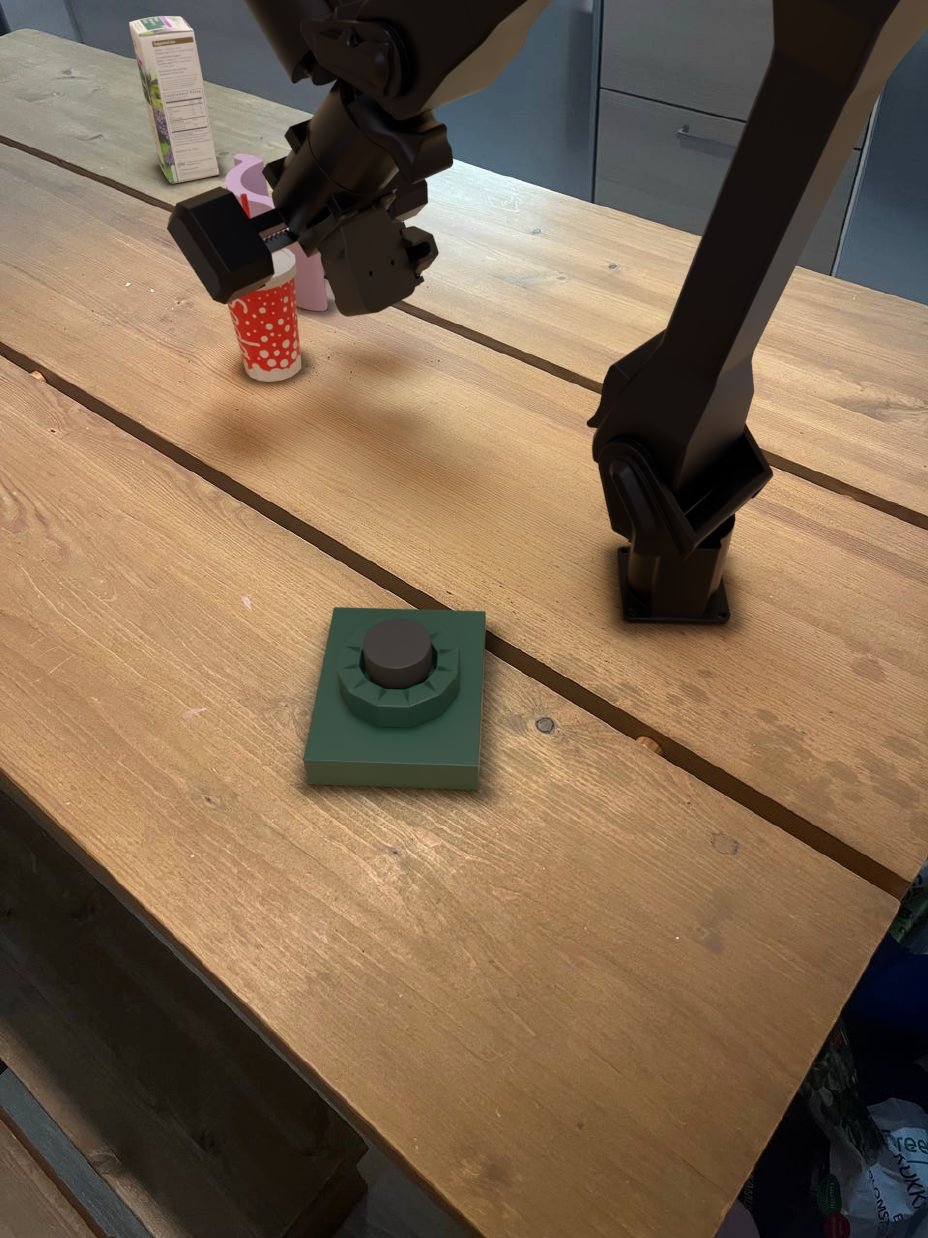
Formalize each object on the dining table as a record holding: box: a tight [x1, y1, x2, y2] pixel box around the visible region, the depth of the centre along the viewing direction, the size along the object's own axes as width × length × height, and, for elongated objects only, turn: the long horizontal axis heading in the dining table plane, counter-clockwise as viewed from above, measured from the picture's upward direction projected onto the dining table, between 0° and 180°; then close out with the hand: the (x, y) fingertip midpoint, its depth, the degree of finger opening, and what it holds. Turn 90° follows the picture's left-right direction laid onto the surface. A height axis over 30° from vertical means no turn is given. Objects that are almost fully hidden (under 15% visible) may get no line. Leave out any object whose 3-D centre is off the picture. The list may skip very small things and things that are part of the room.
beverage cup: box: [226, 194, 302, 383], centre depth 74 cm, size 6×6×14 cm
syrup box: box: [128, 15, 221, 184], centre depth 102 cm, size 6×6×14 cm
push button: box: [363, 618, 432, 689], centre depth 51 cm, size 4×4×2 cm
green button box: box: [302, 606, 487, 791], centre depth 52 cm, size 11×9×4 cm
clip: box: [224, 153, 329, 312], centre depth 89 cm, size 20×12×7 cm, turn 23°
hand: (265, 265), depth 71 cm, fingers open, 9 cm apart
